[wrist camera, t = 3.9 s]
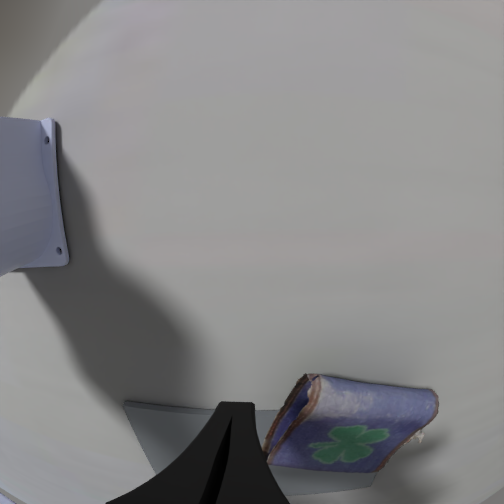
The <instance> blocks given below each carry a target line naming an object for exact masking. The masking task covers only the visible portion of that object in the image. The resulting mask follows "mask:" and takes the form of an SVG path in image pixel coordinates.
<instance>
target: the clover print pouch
mask: <svg viewBox="0 0 504 504" xmlns="http://www.w3.org/2000/svg"><path fill="white" fill-rule="evenodd" d="M294 387H295V388H293V389H292V391H291V393H290V394H289V396H288V398H287V399H286V400H285V403H284V404H285V405H284V406H282V408H281V409H280V411H279V412H278V413H277V415H276V416H275V419H274V421H273V422H272V424H271V426H270V428H269V430H268V432H267V434H266V436H265V438H264V443H263V445H262V450H263V453H264V456H265V458H266V461H267V463H268V465H274V466H282V467H289V468H297V469H305V470H313V471H327V472H329V471H332V472H346V473H374V472H378V471H379V470H380V469H382V468H383V467H384V466H385V464H386V463H387V462H388V461H389V458H390V457H391V456H392V455H393V454H394V453H395V452H396V451H397V450H398V449H399V448H400V447H401V446H403V445H404V444H407V443H408V442H410V440H411V439H416V438H418V439H419V441H418V443H421V442H422V439H423V437H424V436H425V434H424V432H421V429H422V428H423V427H425V426H426V425H428V424H429V423H430V422H431V421H432V420H433V419H434V418H435V417H436V415H437V414H438V407H439V401H438V395H437V394H436V393H435V392H434V391H433V390H432V389H414V388H402V387H393V386H386V385H379V384H369V383H362V382H356V381H350V380H345V379H339V378H333V377H328V376H324V375H320V374H306V373H305V374H304V376H303V377H301V378H300V379H298V381H297V382H296V386H294Z"/></svg>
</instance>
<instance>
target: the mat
mask: <svg viewBox="0 0 504 504" xmlns="http://www.w3.org/2000/svg"><path fill="white" fill-rule="evenodd" d="M123 408H124V410H125V412H126V415H127V417H128V419H129V421H130V424H131V426H132V428H133V430H134V432H135V434H136V436H137V439H138V441H139V443H140V445H141V447H142V449H143V451H144V453H145V455H146V457H147V458H148V460H149V462H150V464H151V466H152V468H153V470H154V471H155V473H156V475H157V474H158V473H160V472H161V471H162V470H163V469H165V468H166V467H167V466H168V465H169V464H171V463H172V462H173V461H174V460H175V459H176V458H177V457H178V456H179V455H180V454H181V453H182V452H183V451H184V450H185V449H186V448H187V447H188V446H189V444H190V443H191V442H192V441H193V440H194V439H195V438H196V436H197V435H198V434H199V432H200V431H201V430H202V428H203V427H204V426H205V424H206V423H207V422H208V420H209V419H210V417H211V416H212V414H213V413H214V411H215V410H210V409H193V408H181V407H170V406H161V405H152V404H144V403H137V402H130V401H125V402H124V404H123ZM279 411H280V410H263V411H255V417H256V430H257V434H258V437H259V441H260V444H261V447H262V445H263V443H264V438H265V436H266V434H267V432H268V430H269V428H270V426H271V424H272V422H273V421H274V419H275V416H276V415H277V413H278V412H279ZM268 466H269V468H270V470H271V472H272V474H273V476H274V478H275V480H276V482H277V484H278V486H279V487H280V489H281V491H282V492H283V494H284V495H285V496H286V495H306V494H318V493H328V492H337V491H345V490H352V489H358V488H364V487H369V486H371V485H372V482H373V480H374V478H375V475H376V473H377V472H374V473H346V472H332V471H329V472H327V471H313V470H305V469H297V468H289V467H282V466H274V465H268Z"/></svg>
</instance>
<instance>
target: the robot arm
mask: <svg viewBox="0 0 504 504" xmlns="http://www.w3.org/2000/svg"><path fill="white" fill-rule="evenodd" d="M48 139H50V140H49V143H48ZM60 248H61V250H62V253H61V252H60ZM68 262H69V254H68V249H67V243H66V238H65V232H64V226H63V219H62V212H61V204H60V196H59V186H58V175H57V161H56V139H55V120H54V119H53V118H46V119H43V120H41V121H39V120H30V119H21V118H11V117H0V276H3V275H5V274H7V273H9V272H11V271H13V270H15V269H17V268H31V267H55V266H64V265H66V264H68ZM0 504H16V503H15V502H13V501H12V500H10V499H9V498H7V497H6V496H5V495H3V494H2V493H0ZM106 504H290V503H289V502H288V500H287V499H286V497H285V495H284V494H283V492H282V491H281V489H280V487H279V486H278V484H277V482H276V480H275V478H274V476H273V474H272V472H271V470H270V468H269V466H268V463H267V461H266V458H265V456H264V453H263V450H262V447H261V444H260V441H259V437H258V434H257V430H256V417H255V404H253V403H252V402H224V401H221V402H220V403H219V404H218V406H217V408H216V409H215V411H214V413H213V414H212V416H211V417H210V419H209V420H208V422H207V423H206V424H205V426H204V427H203V428H202V430H201V431H200V432H199V434H198V435H197V436H196V438H195V439H194V440H193V441H192V442H191V443H190V444H189V446H188V447H187V448H186V449H185V450H184V451H183V452H182V453H181V454H180V455H179V456H178V457H177V458H176V459H175V460H174V461H173V462H172V463H171V464H169V465H168V466H167V467H166V468H165V469H163V470H162V471H161V472H160V473H158V474H157V475H156V476H154V477H153V478H152V479H150V480H149V481H147V482H145V483H144V484H142V485H141V486H139V487H137V488H136V489H134V490H132V491H130V492H128V493H126V494H124V495H122V496H120V497H118V498H116V499H113V500H111V501H109V502H106Z"/></svg>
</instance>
